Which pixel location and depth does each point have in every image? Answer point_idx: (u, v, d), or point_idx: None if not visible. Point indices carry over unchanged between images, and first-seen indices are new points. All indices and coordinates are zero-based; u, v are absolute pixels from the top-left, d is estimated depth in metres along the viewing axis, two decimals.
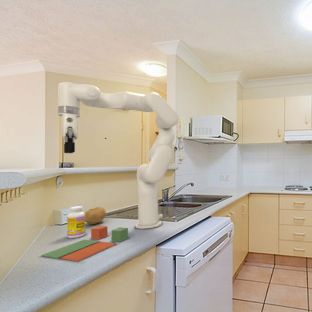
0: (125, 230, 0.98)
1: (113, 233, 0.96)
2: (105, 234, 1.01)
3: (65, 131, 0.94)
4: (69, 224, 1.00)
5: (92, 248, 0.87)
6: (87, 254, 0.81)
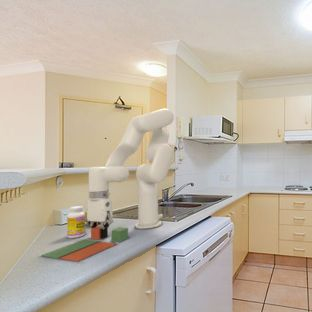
0: (125, 230, 0.98)
1: (113, 233, 0.96)
2: None
3: (104, 219, 0.98)
4: (69, 224, 1.00)
5: (92, 248, 0.87)
6: (87, 254, 0.81)
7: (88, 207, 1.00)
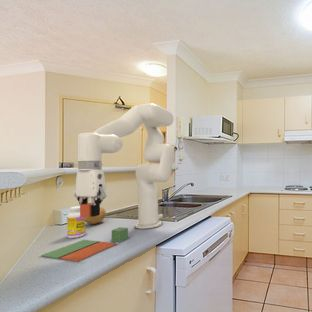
0: (125, 230, 0.98)
1: (113, 233, 0.96)
2: None
3: (96, 193, 0.83)
4: (69, 224, 1.00)
5: (92, 248, 0.87)
6: (87, 254, 0.81)
7: (77, 180, 0.85)
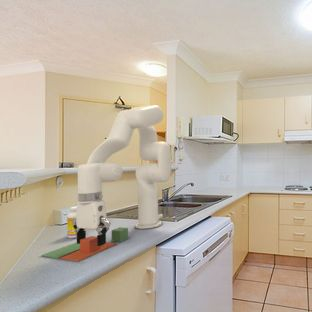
0: (125, 230, 0.98)
1: (113, 233, 0.96)
2: (96, 246, 0.85)
3: (97, 222, 0.83)
4: (69, 224, 1.00)
5: None
6: (87, 254, 0.81)
7: (77, 212, 0.85)
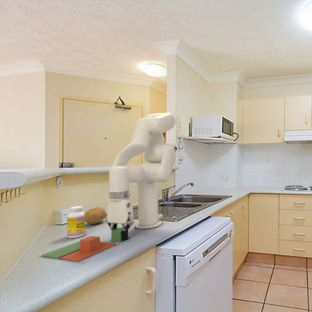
0: None
1: (113, 233, 0.96)
2: (96, 246, 0.85)
3: (125, 221, 0.95)
4: (69, 224, 1.00)
5: None
6: (87, 254, 0.81)
7: (108, 208, 0.96)
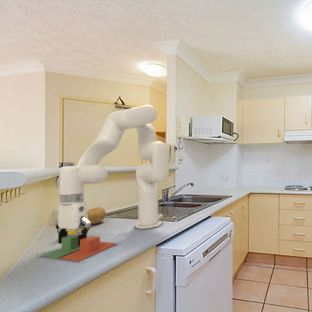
0: None
1: (63, 241, 0.86)
2: (96, 246, 0.85)
3: (78, 223, 0.85)
4: None
5: None
6: (87, 254, 0.81)
7: (59, 212, 0.87)
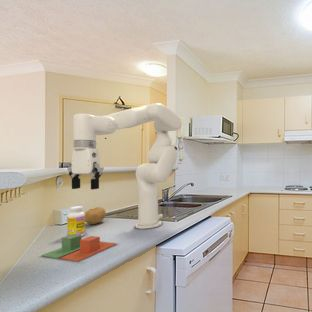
0: (78, 237, 0.88)
1: (63, 241, 0.86)
2: (96, 246, 0.85)
3: (91, 167, 0.89)
4: (69, 224, 1.00)
5: None
6: (87, 254, 0.81)
7: (73, 158, 0.91)
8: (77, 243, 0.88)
